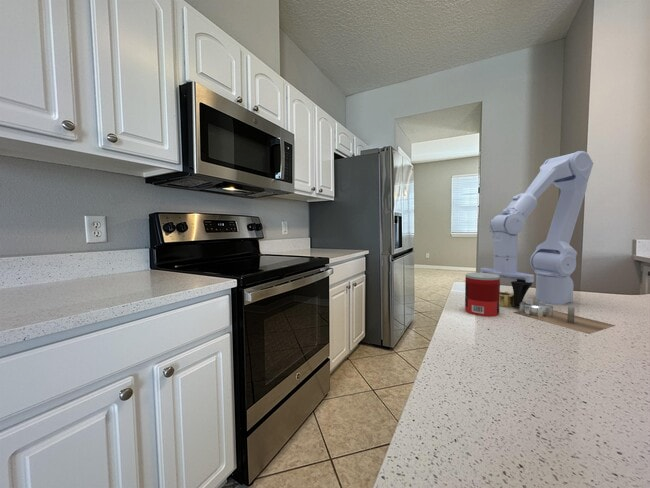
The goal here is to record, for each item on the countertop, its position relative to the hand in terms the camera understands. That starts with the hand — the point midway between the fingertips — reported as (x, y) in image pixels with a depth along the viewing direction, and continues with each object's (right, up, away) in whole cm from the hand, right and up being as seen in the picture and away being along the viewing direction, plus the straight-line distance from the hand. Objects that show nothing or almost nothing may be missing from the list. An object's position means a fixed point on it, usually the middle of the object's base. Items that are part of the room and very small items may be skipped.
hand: (504, 302), depth 81 cm
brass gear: (0, -1, 0) cm, 1 cm away
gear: (+3, -1, -9) cm, 9 cm away
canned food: (-10, -2, -6) cm, 12 cm away
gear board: (+6, -2, -13) cm, 14 cm away
